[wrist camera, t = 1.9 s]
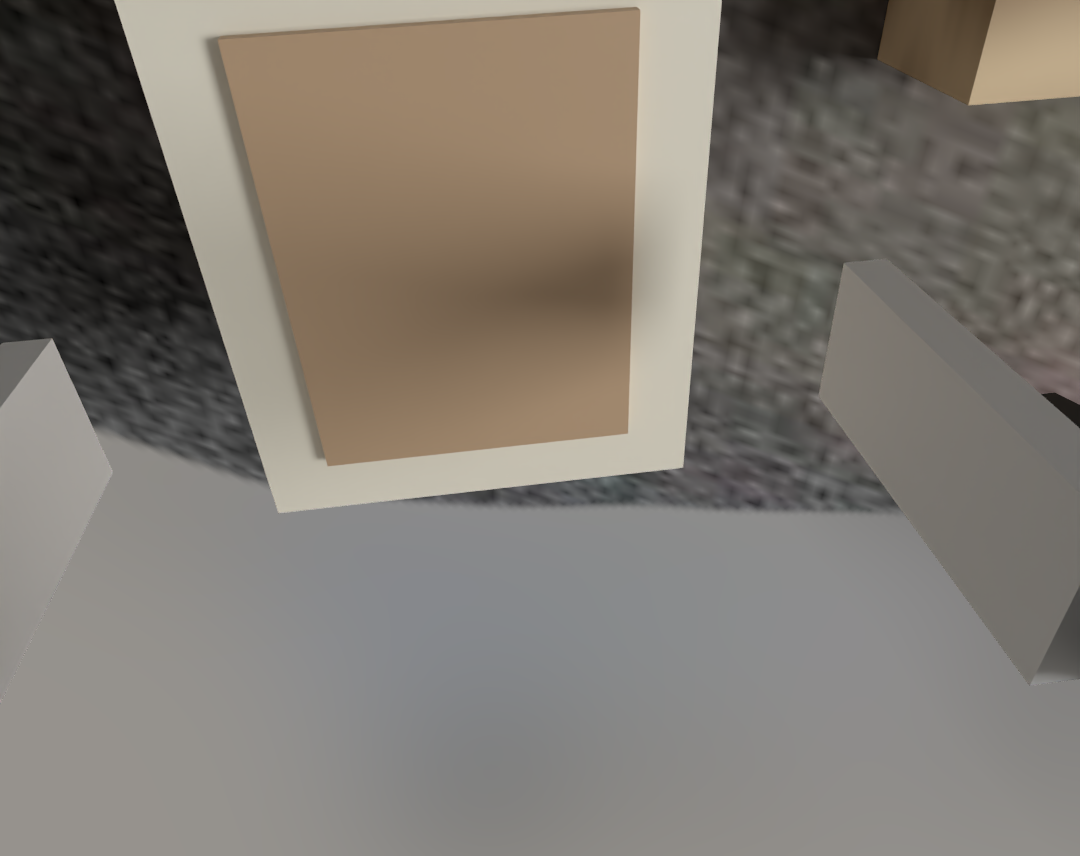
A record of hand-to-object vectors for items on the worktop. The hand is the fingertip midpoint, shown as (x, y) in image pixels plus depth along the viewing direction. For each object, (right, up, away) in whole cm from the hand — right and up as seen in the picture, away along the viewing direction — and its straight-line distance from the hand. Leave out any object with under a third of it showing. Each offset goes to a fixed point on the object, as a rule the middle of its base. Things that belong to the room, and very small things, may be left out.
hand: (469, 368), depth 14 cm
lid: (-1, +4, +4) cm, 6 cm away
